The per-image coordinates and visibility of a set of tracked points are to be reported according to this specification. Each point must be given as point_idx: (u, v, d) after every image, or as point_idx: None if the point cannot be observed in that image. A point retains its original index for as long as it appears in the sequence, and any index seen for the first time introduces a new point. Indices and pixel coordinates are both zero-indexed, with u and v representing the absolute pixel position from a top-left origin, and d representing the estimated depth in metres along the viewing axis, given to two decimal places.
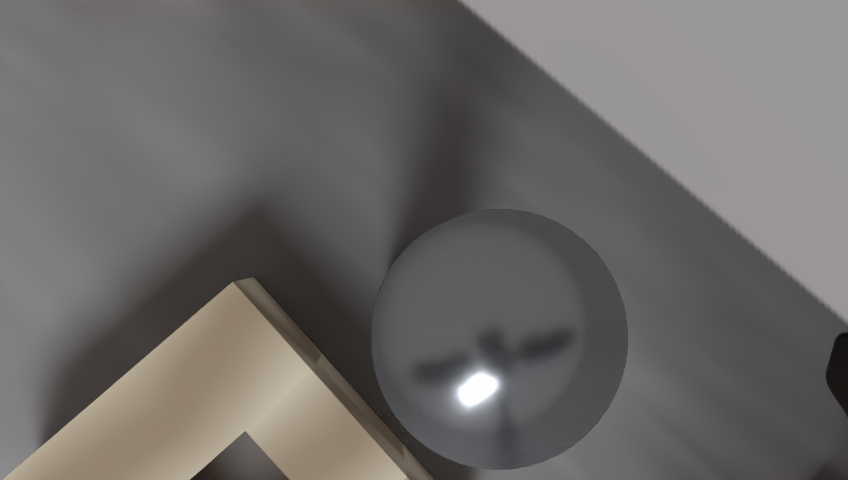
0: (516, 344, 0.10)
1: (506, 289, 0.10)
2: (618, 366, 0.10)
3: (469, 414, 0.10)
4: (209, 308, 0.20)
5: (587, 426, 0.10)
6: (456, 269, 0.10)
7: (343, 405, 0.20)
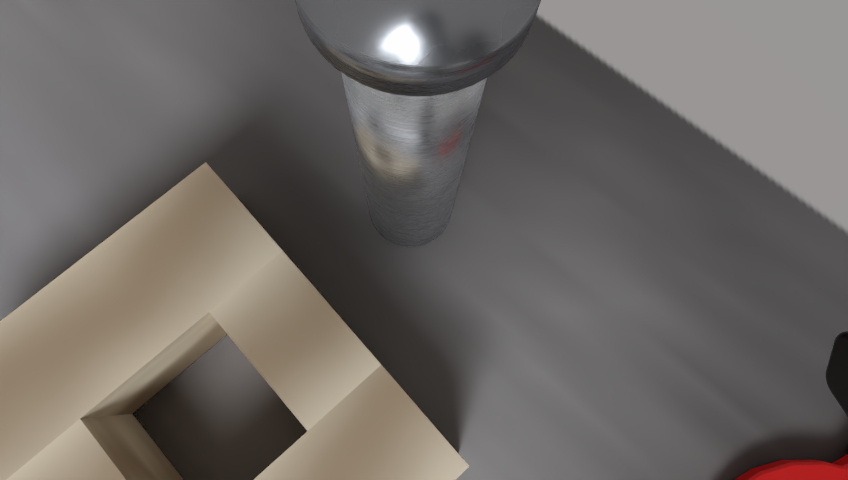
0: None
1: None
2: None
3: (384, 10, 0.09)
4: (180, 187, 0.19)
5: (515, 35, 0.09)
6: None
7: (314, 287, 0.19)
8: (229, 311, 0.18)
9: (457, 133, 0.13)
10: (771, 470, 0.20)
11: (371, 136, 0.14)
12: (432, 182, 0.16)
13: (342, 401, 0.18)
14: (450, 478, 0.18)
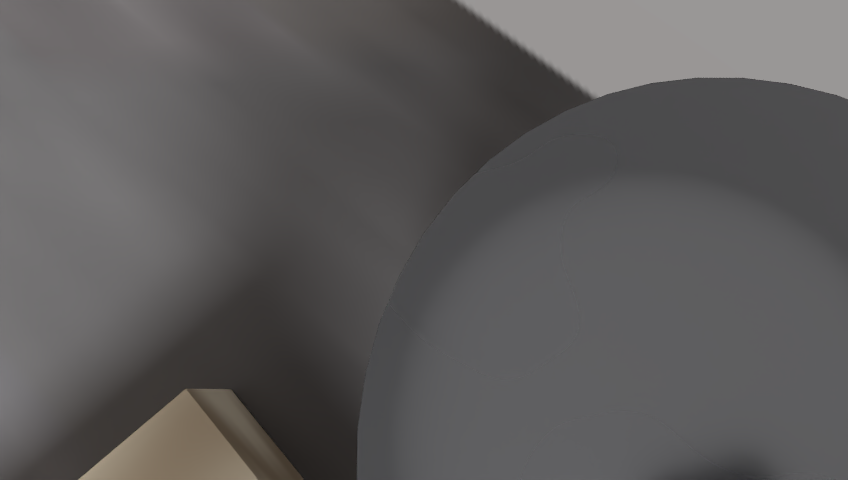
0: (820, 471, 0.03)
1: (765, 296, 0.03)
2: None
3: None
4: (148, 430, 0.13)
5: None
6: (610, 240, 0.03)
7: None
8: None
9: None
10: None
11: None
12: None
13: None
14: None
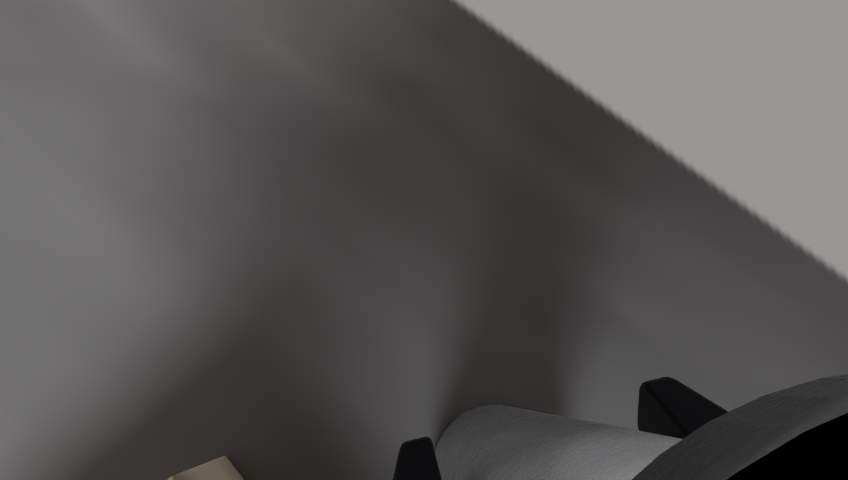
0: None
1: None
2: None
3: None
4: None
5: None
6: None
7: None
8: None
9: None
10: None
11: None
12: None
13: None
14: None
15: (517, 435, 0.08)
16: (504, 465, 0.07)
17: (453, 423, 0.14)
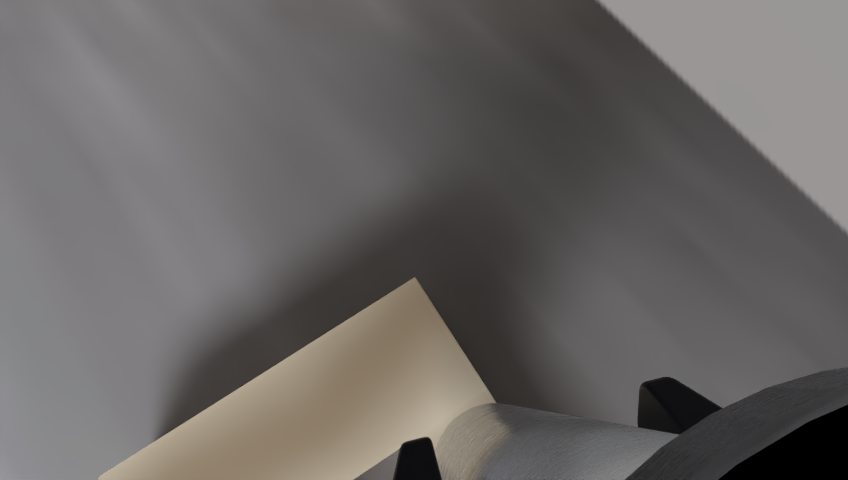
0: None
1: None
2: None
3: None
4: (386, 301, 0.18)
5: None
6: None
7: None
8: None
9: None
10: None
11: None
12: None
13: None
14: None
15: (518, 432, 0.08)
16: (505, 462, 0.07)
17: (454, 422, 0.15)
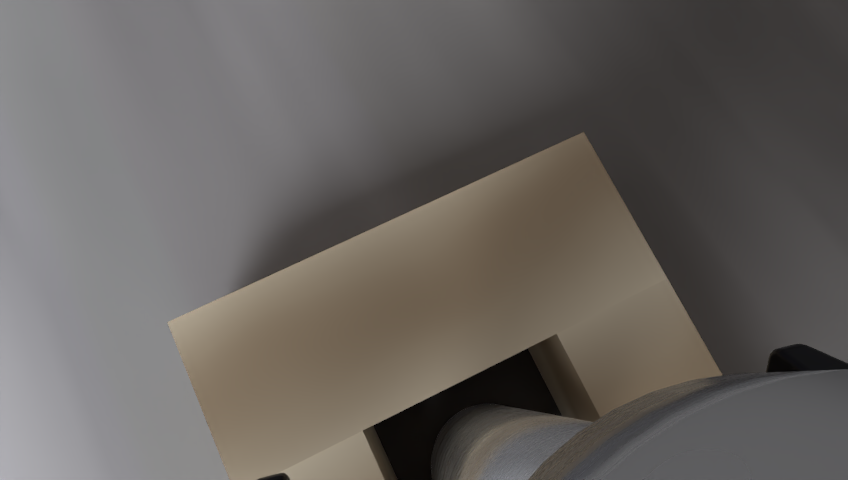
0: None
1: None
2: None
3: None
4: (545, 156, 0.14)
5: None
6: None
7: (700, 340, 0.13)
8: (583, 341, 0.13)
9: None
10: None
11: None
12: None
13: None
14: None
15: (503, 429, 0.09)
16: (490, 454, 0.08)
17: (450, 421, 0.16)
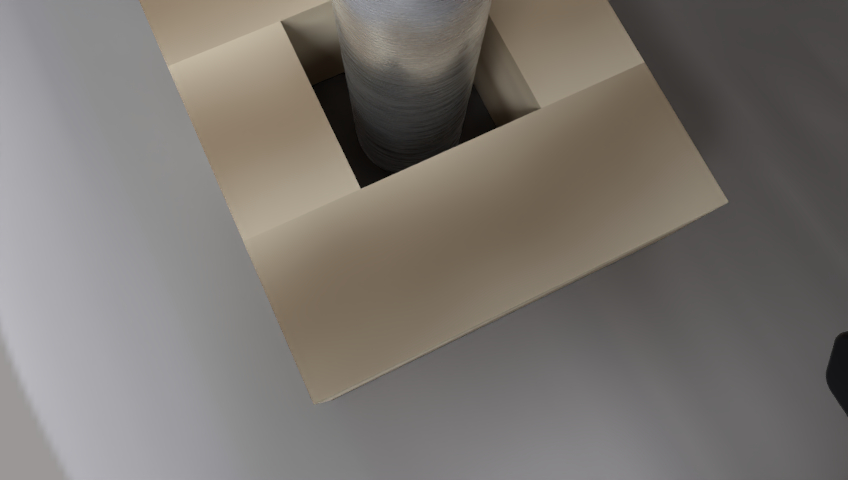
0: None
1: None
2: None
3: None
4: None
5: None
6: None
7: None
8: None
9: None
10: None
11: None
12: (440, 42, 0.11)
13: (589, 88, 0.15)
14: (702, 209, 0.14)
15: None
16: None
17: None
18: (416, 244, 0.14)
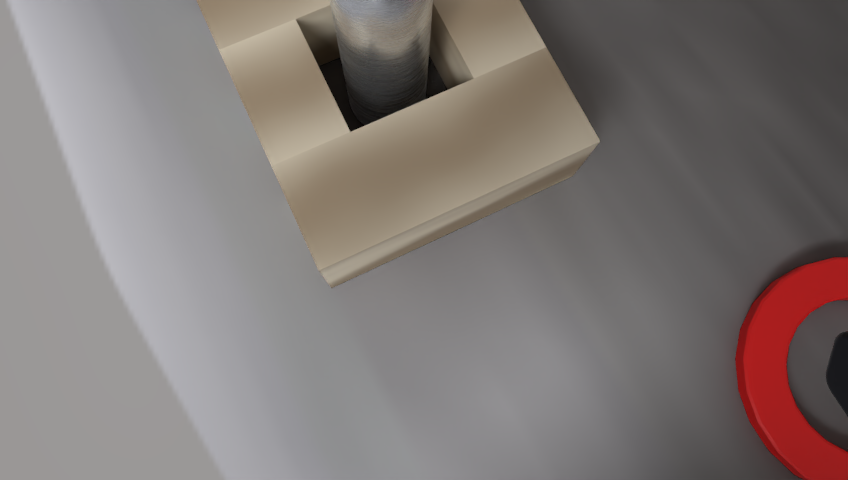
0: None
1: None
2: None
3: None
4: None
5: None
6: None
7: None
8: None
9: None
10: (845, 258, 0.23)
11: None
12: (398, 30, 0.17)
13: (507, 64, 0.21)
14: (582, 145, 0.21)
15: None
16: None
17: None
18: (387, 168, 0.20)
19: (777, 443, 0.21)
